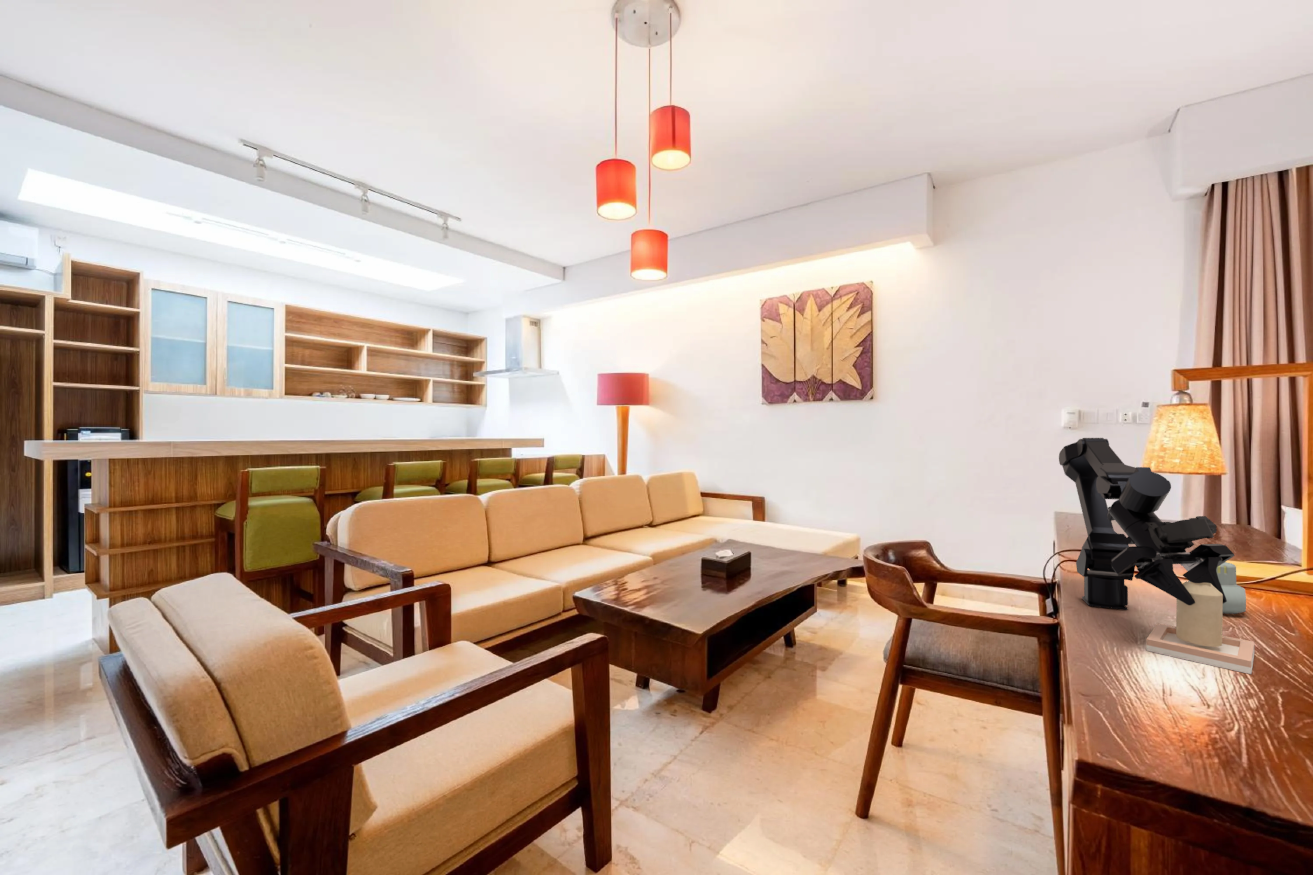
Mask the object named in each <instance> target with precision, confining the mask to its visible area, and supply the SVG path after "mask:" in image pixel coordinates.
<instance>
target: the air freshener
mask: <svg viewBox="0 0 1313 875" xmlns="http://www.w3.org/2000/svg"><path fill="white" fill-rule="evenodd" d="M1216 571H1217V575H1218V579H1219V581H1220V584H1221V587H1222V589H1223V592H1224V594H1225V597H1226V600H1227V602H1225V603H1224V604H1223V614H1224V615H1225V614H1226V615H1227V614H1228V615H1237V614H1241V613H1244V612H1246V611H1247V594H1246V589H1245V588H1244V587H1242V586H1240V585H1238V584H1237V565H1235V564H1233V563H1230V562H1228V561H1226V562H1224V563H1223V564H1221V565H1220V566H1218V567H1217V569H1216ZM1187 582H1190V581H1189V580H1187Z"/></svg>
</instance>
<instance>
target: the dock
mask: <svg viewBox="0 0 1313 875" xmlns="http://www.w3.org/2000/svg"><path fill="white" fill-rule="evenodd" d="M1145 643H1146V651H1147V652H1150V653H1156V654H1160V655H1164V656H1168V657H1169V656H1170V657H1173V658H1178V659H1182V660H1186V661H1190V662H1195V663H1200V664H1204V665H1209V666H1211V667H1212V666H1213V667H1217V668H1222V669H1226V670H1231V671H1235V672H1239V673H1245V674H1247V675H1248V674H1249V675H1252V672H1253V665H1254V659H1255V641H1252V640H1247V639H1242V638H1237V637H1232V636H1226V635H1222V645H1221V646H1218V647H1211V646H1203V645H1198V644H1193V643H1189V642H1186V641H1183V640H1181V639H1179V638H1178V637H1177V635H1176V625H1169V624H1165V623H1161V622H1160V623H1159V622H1157V623H1156V624H1155V625H1154V627H1153V629H1152V630H1151V632H1150V633H1149V635H1148V636H1147V637H1146V642H1145Z"/></svg>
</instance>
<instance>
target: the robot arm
mask: <svg viewBox="0 0 1313 875" xmlns="http://www.w3.org/2000/svg"><path fill="white" fill-rule="evenodd" d="M1058 462H1059V463H1058V464H1059V465H1060V466H1061V467H1062V468H1063V472H1064V476H1066V477H1067V478H1068V479H1070V480H1071V481H1072V482H1074V483H1075V487H1076V492H1077V495H1078V500H1079V504H1080V510H1081V512H1082V517H1083V520H1084V525H1085V528H1086V532H1087V533H1086V534H1087V538H1086V540H1085V541H1084V543H1083V545H1082V547H1081V549H1080V552H1079V555H1078V557H1077V560H1076V561H1075V565H1076V573H1078V574H1079V575H1081V576H1082V577H1083V579H1084V580H1083V584H1084V585H1083V587H1084V588H1083V590H1084V595H1082V596H1081V599H1082V601H1084V602H1085V604H1087V605H1088V606H1089V607H1096V608H1103V609H1104V608H1105V609H1114V610H1122V611H1128V610H1129V608H1128V607H1127V606H1128V604H1129V597H1128V596H1129V594H1128V593H1129V592H1128V590H1129V588H1128V586H1127V585H1126V584H1125V581H1131V582H1132V581H1133V579H1134V578H1135V579H1136V580H1141V581H1144V582H1145V583H1147V584H1149V585H1151V586H1153V587H1155V588H1157V589H1159V590H1161V591H1163V592H1164V593H1166V594H1168V595H1169V596H1171V597H1173V598H1175V599H1176V600H1177V599H1178V600H1180V601H1182V602H1184V603H1185V604H1187V605H1193V604H1194V603H1195V601H1194V599H1193V598H1192V596H1191V594H1190V593H1189V592H1188V590H1187V589H1186V588H1185V586H1184V585H1183V583H1182V581H1181V579H1180V578H1179V577H1178V576H1177V574H1176V573H1175V572H1174V566H1173V565H1180V566H1182V567H1183V568H1184V569H1185V570H1186V572H1185V573H1183V574H1182V577H1184V578H1185V579H1186V580H1187V581H1190V582H1193V583H1211V584H1212V585H1213V586H1214V587H1215V588H1216V589H1217V590H1218V591H1219V592H1221V593H1222V594H1223V604H1224V603H1225V602H1227V600H1226V597H1225V594H1224V592H1223V589H1222V587H1221V584H1220V581H1219V579H1218V575H1217V571H1216V569H1217V567H1218V566H1220V565H1221V564H1223V563H1224V562H1228V561H1229V560H1230V559H1232V558H1234V557H1235V553H1234V551H1232V550H1231V549H1230V548H1229V547H1228V546H1227V545H1225V544H1220V543H1204V544H1203V543H1202V544H1201V543H1200V544H1199V545H1198V546H1196V547H1195V548H1193V549H1192V550H1190V551H1189V552H1187V549H1190V548H1192V547H1193V546H1194V545H1195V544H1194V541H1195V542H1196V541H1198V540H1203V539H1213V538H1214V537H1215V536H1214V534H1216V533H1217V531H1218V529H1217V524H1216V523H1214V522H1213V521H1212V520H1211V519H1209V518H1208V517H1207V516H1206V515H1202V516H1201V515H1200V516H1199V515H1198V516H1195V517H1190V518H1188V519H1182V520H1181V519H1180V520H1177V521H1176V520H1175V521H1173V522H1170V521H1162V519H1160V518H1159V517H1158V516H1157V514H1156V513H1155V512H1156V511H1157V512H1158V511H1159V509H1160V507H1161V506H1162V504H1163V502H1165V499H1166V498H1167V496H1168V495H1169V492H1171V489H1172V485H1171V484H1172V483H1171V481H1170V480H1168V479H1167V478H1166V477H1164V476H1163V475H1161V474H1159V473H1156V472H1153V471H1152V469H1151V467H1150V466H1148V467H1146V466H1143V467H1142V466H1141V467H1140V466H1136V467H1135V466H1131V465H1127V464H1125V463H1124V462H1123V461H1122V459H1121V458H1120V457H1119V456H1118V454H1116V452H1115V451H1114V450H1113V449H1112V448H1111V446H1110V443H1109V440H1108V438H1104V437H1082V438H1079V439H1078V440H1077V441H1076V442H1073V443H1070V444H1067V445H1065V446H1063V448H1062V449H1061V450H1060V451H1059V455H1058ZM1107 500H1115V501H1114V502H1112V504H1111V506H1108V505H1107ZM1113 521H1115V522H1116V523H1117V524H1118V526H1119V527H1120V528H1121V529H1122V530H1123V532H1124V533H1117V532H1116V531H1115V530H1114V525H1113V523H1112V522H1113ZM1126 535H1127V536H1126ZM1130 545H1133V546H1130ZM1134 545H1135V546H1134ZM1135 569H1136V570H1137V571H1138V572H1137V573H1136V574H1135Z"/></svg>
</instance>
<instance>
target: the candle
mask: <svg viewBox="0 0 1313 875" xmlns="http://www.w3.org/2000/svg"><path fill="white" fill-rule="evenodd" d="M1182 584H1183V585H1184V586H1185V588H1186V589H1187V590H1188V592H1189V593H1190V594H1191V596H1192V598H1193V599H1194V601H1195V603H1194V604H1193V605H1187V604H1185V603H1184V602H1182V601H1180V600H1178V599H1177V598H1176V600H1175V601H1176V614H1175V615H1176V619H1175V621H1176V624H1175V626H1176V635H1177V637H1178V638H1179V639H1181V640H1183V641H1186V642H1189V643H1193V644H1198V645H1203V646H1211V647H1218V646H1221V645H1222V636H1223V617H1224V615H1223V614H1224V613H1223V594H1222V593H1221V592H1219V591H1218V590H1217V589H1216V588H1215V587H1214V586H1213V585H1212V584H1211V583H1193V582H1188V580H1185V582H1183V583H1182Z"/></svg>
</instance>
